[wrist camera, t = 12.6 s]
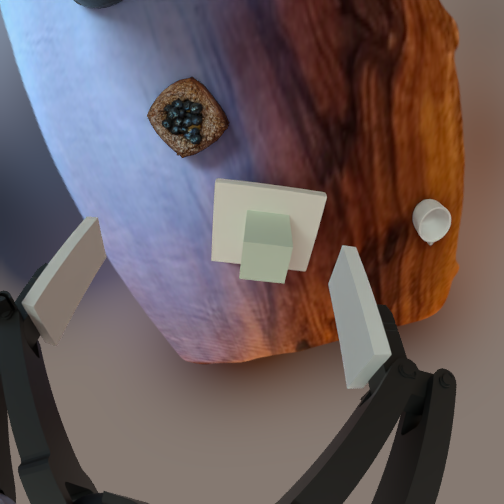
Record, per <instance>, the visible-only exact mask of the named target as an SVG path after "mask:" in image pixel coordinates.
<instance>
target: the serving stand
mask: <svg viewBox="0 0 504 504" xmlns="http://www.w3.org/2000/svg"><path fill="white" fill-rule="evenodd" d="M326 199H327V196H326V193H325V192H319V191H312V190H306V189H299V188H293V187H286V186H278V185H271V184H263V183H255V182H247V181H238V180H229V179H219V178H217V179H216V181H215V194H214V212H213V234H212V259H211V261H219V262H228V263H236V264H241V258H242V249H243V240H244V232H245V223H246V215H247V210H252V211H260V212H269V213H276V214H284V215H289V218H290V226H291V234H292V242H293V250H292V254H291V258H290V262H289V266H288V269H289V270H298V271H306V269H307V266H308V262H309V259H310V256H311V252H312V249H313V245H314V242H315V239H316V235H317V232H318V228H319V224H320V221H321V217H322V214H323V210H324V206H325V202H326Z"/></svg>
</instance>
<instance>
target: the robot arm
mask: <svg viewBox="0 0 504 504" xmlns="http://www.w3.org/2000/svg"><path fill="white" fill-rule="evenodd" d="M74 1H75V2H76V3H77V4H79V5H82V6H85V7H90V8H104V7H109V6H112V5H114V4H117V3H119V2H121V1H122V0H74ZM105 258H106V254H105V249H104V245H103V240H102V236H101V231H100V226H99V221H98V218H96V217H86V218H85V219H84V220H83V222H82V223H81V224H80V225H79V226H78V227H77V229H76V230H75V231H74V232H73V233H72V235H71V236H70V237H69V238H68V239H67V241H66V242H65V243H64V244H63V246H62V247H61V248H60V249H59V251H58V252H57V253H56V255H55V256H54V257H53V259H52V260H51V261H50V263H49V264H46V263H45V264H44V265H43V266H41V267H40V268H39V269H37V271H36V272H35V274H34V275H33V276H32V278H31V279H30V281H29V282H28V284H27V285H26V286H25V288H24V289H23V291H22V292H21V293H20V295H19V296H18V298H17V300H16V301H15V302H14V300H13V299H12V297H11V295H10V293H9V292H7V291H1V292H0V504H16V493H15V483H14V476H13V470H12V463H11V455H10V446H9V434H8V416H7V410H8V415H9V419H10V423H11V427H12V431H13V435H14V438H15V442H16V445H17V448H18V452H19V455H20V458H21V464H20V466H19V467H18V473H19V476H20V479H21V481H22V484H23V487H24V489H25V492H26V494H27V496H28V499H29V501H30V503H31V504H148V503H146V502H142V501H139V500H135V499H132V498H128V497H124V496H120V495H116V494H113V493H109V492H106V491H104V492H103V493H98V491H97V490H96V488H95V486H94V484H93V483H92V481H91V480H90V478H89V477H88V476H87V475H86V473H85V472H84V471H83V470H82V468H81V466H80V464H79V462H78V460H77V458H76V456H75V453H74V451H73V449H72V446H71V444H70V442H69V439H68V437H67V434H66V432H65V429H64V426H63V424H62V421H61V418H60V415H59V413H58V410H57V407H56V404H55V400H54V397H53V394H52V391H51V387H50V384H49V380H48V377H47V373H46V369H45V365H44V361H43V356H42V352H41V347H40V344H39V341H38V338H39V336H40V335H41V337H42V338H43V340H44V341H45V342H46V343H48V344H52V345H54V346H57V345H58V343H59V341H60V339H61V337H62V335H63V333H64V331H65V329H66V327H67V325H68V323H69V321H70V319H71V317H72V315H73V314H74V312H75V310H76V308H77V306H78V304H79V303H80V301H81V299H82V297H83V295H84V293H85V292H86V290H87V288H88V287H89V285H90V283H91V281H92V280H93V278H94V276H95V275H96V273H97V271H98V270H99V268H100V266H101V265H102V263H103V262H104V260H105ZM328 285H329V290H330V295H331V300H332V305H333V310H334V315H335V320H336V325H337V331H338V336H339V342H340V347H341V353H342V359H343V365H344V371H345V378H346V385H347V389H349V388H363V387H364V386H365V385H366V384H367V383H368V382H369V387H370V390H369V391H368V392H367V393H366V394H365V395H364V396H363V397H362V398H361V400H362V401H361V402H360V404H359V405H358V406H357V408H356V410H355V411H354V412H353V414H352V415H351V416H350V418H349V419H348V421H347V422H346V423H345V425H344V426H343V427H342V429H341V430H340V431H339V433H338V434H337V435H336V437H335V438H334V439H333V441H332V442H331V443H330V444H329V446H328V447H327V448H326V449H325V450H324V452H323V453H322V454H321V455H320V456H319V458H318V459H317V460H316V461H315V462H314V464H313V465H312V466H311V467H310V468H309V469H308V470H307V471H306V473H305V474H304V475H303V476H302V477H301V478H300V479H299V480H298V481H297V482H296V483H295V485H294V486H293V487H292V488H291V489H290V490H289V491H288V492H287V493H286V494H285V495H284V496H283V497H282V498H281V499H280V500H279V501H278V502H277V503H276V504H343V502H344V501H345V500H346V499H347V497H348V496H349V495H350V493H351V492H352V491H353V490H354V488H355V487H356V486H357V484H358V483H359V481H360V480H361V479H362V477H363V476H364V474H365V473H366V471H367V470H368V469H369V467H370V465H371V464H372V463H373V461H374V459H375V458H376V456H377V455H378V453H379V452H380V450H381V448H382V447H383V445H384V443H385V442H386V440H387V438H388V437H389V435H390V433H391V431H392V430H393V428H394V426H395V424H396V423H397V421H398V419H399V417H400V420H399V424H398V428H397V432H396V435H395V439H394V442H393V445H392V449H391V452H390V455H389V458H388V461H387V464H386V467H385V470H384V473H383V475H382V479H381V481H380V484H379V486H378V489H377V491H376V494H375V496H374V499H373V501H372V503H371V504H435V502H436V499H437V496H438V492H439V489H440V485H441V481H442V477H443V473H444V469H445V464H446V459H447V455H448V449H449V444H450V437H451V431H452V424H453V416H454V407H455V396H456V380H455V377H454V375H453V374H452V373H451V372H450V371H448V370H446V369H439V370H437V371H436V372H435V373H434V374H431V373H427V372H423V371H420V370H418V368H417V366H416V364H415V363H413V362H412V361H411V360H409V359H407V357H406V354H405V351H404V347H403V344H402V341H401V338H400V335H399V332H398V329H397V326H396V324H395V320H394V317H393V314H392V313H391V311H390V310H389V309H388V307H387V306H386V305H376V302H375V299H374V296H373V293H372V290H371V287H370V284H369V281H368V279H367V276H366V273H365V270H364V268H363V265H362V262H361V260H360V257H359V254H358V252H357V249H356V247H351V246H344V245H342V248H341V251H340V254H339V256H338V259H337V262H336V265H335V267H334V270H333V273H332V275H331V278H330V281H329V283H328ZM400 415H401V416H400Z"/></svg>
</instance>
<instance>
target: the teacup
mask: <svg viewBox="0 0 504 504" xmlns="http://www.w3.org/2000/svg"><path fill="white" fill-rule="evenodd" d="M413 224H414V227H415V229H416V231H417V232H418V234H419V236H420V237H421V238H422V239H423V240H424V241H426V242H427V243H428V244H429V245H432V244H433V242H435V241H438V240H440V239H441V238H442V237H443V236H444V235H445V234H446V233H447V232H448V230H449V228H450V224H451V215H450V213H449V211H448V210H447V209H446V208H445V207H444V206H443V205H441V204H440V203H439V202H438V201H436V200H433V199H426V200H423V201H421V202H420V203H419V204H418V205H417V206H416V207H415V209H414V212H413Z"/></svg>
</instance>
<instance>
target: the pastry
mask: <svg viewBox="0 0 504 504" xmlns="http://www.w3.org/2000/svg"><path fill="white" fill-rule="evenodd" d="M147 117H148V119H149V121H150V123H151V125H152V126H153V128H154V130H155V131H156V133H157V134H158V135H159V136H160V138H161V139H162V140H163V141H164V142H165V143H166V144H167V145H168V146H169V147H170V148H171V149H173V150H174V151H175V152H176V153H177V155H180V156H181V157H182V158H184V157H186V156H191V155H194V154H197V153H198V152H200V151H202V150H204V149H205V148H207V147H209V146H210V145H211V144H213V143H214V142H215V141H217V140H218V139H219V138H220V137H221V135H222V134H223V133H224V131H225V130H226V129H227V128H228V126H229V125H228V124H229V122H228V119H227V117H226V115H225V113H224V111H223V110H222V108H221V106H220V105H219V104H218V103H217V101H216V100H215V99H214V97H213V96H212V95H211V93H210V92H209V91H208V90H207V88H206V87H205V86H204V85H203V84H202V83H200V82H199V81H197V80H196V79H195V78H194V77H190V78H187V79H182V80H179V81H177V82H175V83H173V84H172V85H170V86H169V87H167V88H166V89H165V90H164V91H163V92H162V93H161V94H160V95H159V96H158V97H157V99H156V100H155V101H154V103H153V104H152V106H151V108H150V110H149V112H148V114H147Z"/></svg>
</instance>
